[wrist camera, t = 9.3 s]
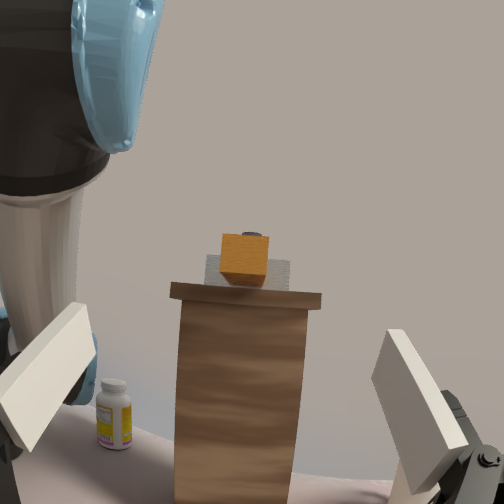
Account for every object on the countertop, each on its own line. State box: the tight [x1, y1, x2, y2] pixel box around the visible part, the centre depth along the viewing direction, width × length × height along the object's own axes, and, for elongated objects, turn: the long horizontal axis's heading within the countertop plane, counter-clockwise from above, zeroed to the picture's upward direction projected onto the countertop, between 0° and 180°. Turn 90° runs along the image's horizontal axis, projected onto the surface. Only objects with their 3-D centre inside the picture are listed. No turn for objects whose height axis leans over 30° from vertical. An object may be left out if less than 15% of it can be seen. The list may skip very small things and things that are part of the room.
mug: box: [388, 459, 440, 504], centre depth 29 cm, size 12×8×10 cm
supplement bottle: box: [96, 378, 132, 450], centre depth 48 cm, size 7×7×13 cm
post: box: [170, 282, 321, 504], centre depth 33 cm, size 14×14×30 cm
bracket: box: [204, 232, 290, 291], centre depth 31 cm, size 20×8×7 cm, turn 0°
